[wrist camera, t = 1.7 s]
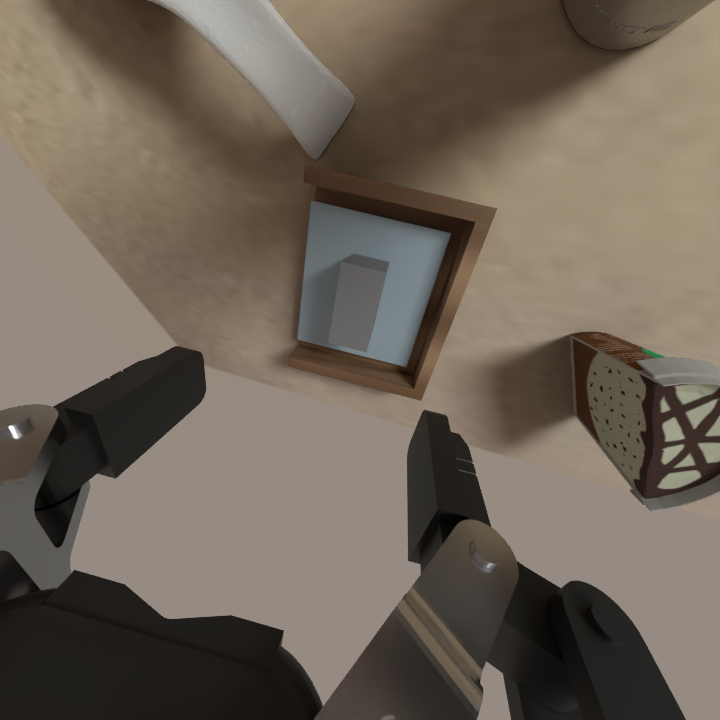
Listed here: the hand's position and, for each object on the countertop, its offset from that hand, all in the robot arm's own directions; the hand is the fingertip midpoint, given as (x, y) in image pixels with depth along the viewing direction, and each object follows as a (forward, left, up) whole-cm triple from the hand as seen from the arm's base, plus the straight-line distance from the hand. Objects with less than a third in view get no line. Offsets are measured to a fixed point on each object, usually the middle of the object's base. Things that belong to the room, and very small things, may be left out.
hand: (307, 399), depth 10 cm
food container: (+2, +24, -18) cm, 30 cm away
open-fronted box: (0, 0, -18) cm, 18 cm away
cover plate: (0, 0, -17) cm, 17 cm away
